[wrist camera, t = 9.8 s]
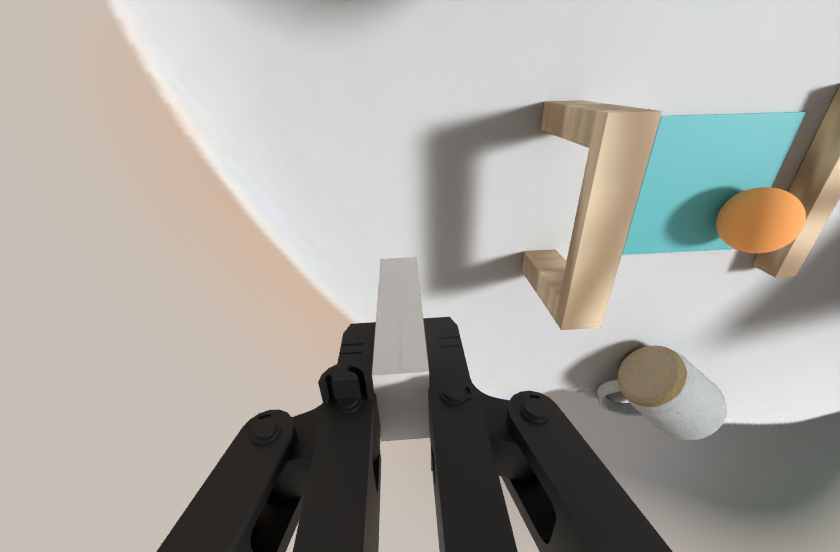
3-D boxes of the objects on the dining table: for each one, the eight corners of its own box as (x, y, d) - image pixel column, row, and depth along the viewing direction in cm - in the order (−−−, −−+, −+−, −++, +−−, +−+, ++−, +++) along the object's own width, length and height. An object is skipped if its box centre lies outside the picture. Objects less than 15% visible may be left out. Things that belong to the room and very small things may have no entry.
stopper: (840, 83, 28) (878, 83, 26) (864, 82, 28) (904, 83, 26) (752, 265, 36) (775, 277, 34) (771, 264, 36) (795, 276, 34)
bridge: (521, 270, 34) (561, 329, 26) (544, 101, 27) (608, 112, 19) (552, 268, 34) (601, 327, 26) (582, 100, 27) (662, 111, 19)
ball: (726, 178, 32) (732, 191, 28) (809, 184, 30) (829, 200, 26) (705, 235, 35) (708, 255, 31) (780, 246, 32) (794, 269, 28)
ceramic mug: (654, 328, 39) (707, 381, 32) (692, 361, 42) (747, 416, 35) (577, 384, 43) (610, 442, 36) (616, 411, 46) (654, 470, 39)
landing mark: (660, 116, 28) (661, 116, 28) (803, 112, 29) (806, 112, 29) (621, 253, 34) (622, 254, 34) (741, 247, 35) (743, 248, 35)
